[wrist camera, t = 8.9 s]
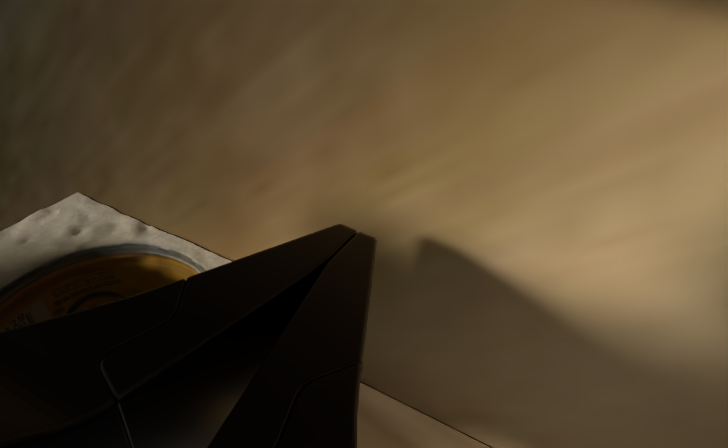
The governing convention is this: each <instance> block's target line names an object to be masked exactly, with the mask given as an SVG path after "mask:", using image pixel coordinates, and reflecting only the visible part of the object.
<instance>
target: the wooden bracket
mask: <svg viewBox="0 0 728 448" xmlns="http://www.w3.org/2000/svg"><path fill="white" fill-rule="evenodd" d="M357 448H490V447H488V446H486V445H484V444H482V443H480V442H478V441H476V440H474V439H472V438H470V437H468V436H466V435H464V434H462V433H460V432H458V431H456V430H454V429H452V428H450V427H448V426H446V425H444V424H442V423H440V422H438V421H436V420H434V419H432V418H430V417H428V416H426V415H424V414H422V413H420V412H418V411H416V410H414V409H412V408H410V407H408V406H406V405H404V404H402V403H400V402H398V401H396V400H394V399H392V398H390V397H388V396H386V395H384V394H382V393H380V392H378V391H376V390H374V389H372V388H370V387H368V386H366V385H364V384H362V383H360V389H359V402H358V415H357Z"/></svg>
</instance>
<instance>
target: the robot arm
mask: <svg viewBox="0 0 728 448" xmlns="http://www.w3.org/2000/svg"><path fill="white" fill-rule="evenodd" d="M376 243H377V241H376V239H375V238H374V237H371V236H369V235H366V234H364V233H361V232H359V233H357V231H356V230H354V229H352V228H349V227H347V226H345V225H342V224H338V225H335V226H332V227H329V228H326V229H323V230H320V231H318V232H315V233H312V234H309V235H306V236H303V237H301V238H298V239H295V240H292V241H289V242H286V243H284V244H281V245H278V246H275V247H272V248H269V249H267V250H264V251H261V252H258V253H255V254H252V255H250V256H247V257H244V258H241V259H238V260H235V261H233V262H230V263H227V264H224V265H221V266H218V267H216V268H213V269H210V270H207V271H204V272H201V273H198V274H196V275H193V276H190V277H188V278H187V280H185V279H181V280H178V281H175V282H173V283H170V284H167V285H164V286H161V287H158V288H155V289H152V290H149V291H146V292H143V293H140V294H137V295H134V296H131V297H127V298H124V299H120V300H117V301H113V302H110V303H106V304H103V305H99V306H96V307H92V308H89V309H85V310H81V311H77V312H74V313H70V314H66V315H63V316H59V317H55V318H51V319H48V320H44V321H40V322H36V323H33V324H29V325H25V326H22V327H18V328H14V329H10V330H7V331H3V332H0V448H357V415H358V402H359V389H360V380H361V372H362V367H361V366H362V362H363V353H364V345H365V336H366V328H367V319H368V311H369V302H370V294H371V285H372V277H373V269H374V260H375V252H376Z"/></svg>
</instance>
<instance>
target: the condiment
mask: <svg viewBox="0 0 728 448" xmlns="http://www.w3.org/2000/svg"><path fill="white" fill-rule="evenodd" d="M230 262H232V261H230V260H228V259H225V258H223V257H220V256H218V255H217V254H215V253H212V252H209V251H207V250H205V249H203V248H201V247H199V246H196V245H194V244H193V243H191V242H188V241H186V240H184V239H181V238H179V237H176V236H174V235H171V234H168V233H166V232H163V231H160V230H158V229H156V228H154V227H152V226H148V225H146V224H144V223H142V222H140V221H139V220H136V219H134V218H131V217H129V216H127V215H123V214H121V213H119V212H117V211H116V210H114V209H113V208H111V207H109V206H107V205H103V204H100V203H98V202H96V201H93V200H92V199H90V198H89V197H87V196H84V195H82V194H80V193H75V194H73V195H71V196H69V197H68V198H66V199H64V200H62V201H60V202H58V203H56V204H54V205H52V206H50V207H48V208H45V209H41V210H39V211H37V212H35V213H34V214H32V215H30V216H28V217H27V218H25V219H24V220H22V221H21V222H19V223H17V224H15V225H12V226H11V227H9V228H6V229H4V230H3V231H0V332H3V331H7V330H10V329H14V328H18V327H22V326H25V325H29V324H33V323H36V322H40V321H44V320H48V319H51V318H55V317H59V316H63V315H66V314H70V313H74V312H77V311H81V310H85V309H89V308H92V307H96V306H99V305H103V304H106V303H110V302H113V301H117V300H120V299H124V298H127V297H131V296H134V295H137V294H140V293H143V292H146V291H149V290H152V289H155V288H158V287H161V286H164V285H167V284H170V283H173V282H175V281H178V280H181V279H185V280H187V278H188V277H190V276H193V275H196V274H198V273H201V272H204V271H207V270H210V269H213V268H216V267H218V266H221V265H224V264H227V263H230Z"/></svg>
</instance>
